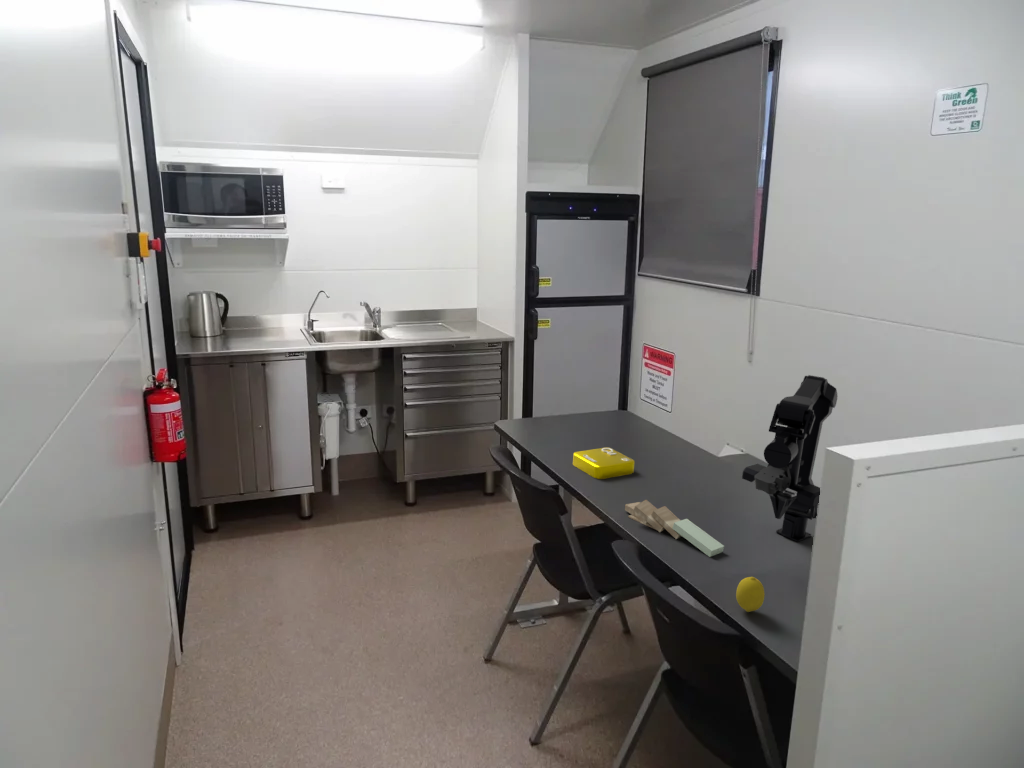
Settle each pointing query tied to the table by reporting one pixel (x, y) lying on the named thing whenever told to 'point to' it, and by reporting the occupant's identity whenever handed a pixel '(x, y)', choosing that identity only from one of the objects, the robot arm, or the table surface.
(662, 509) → the tile
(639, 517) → the tile
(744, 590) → the lemon
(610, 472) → the element tile
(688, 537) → the head tile
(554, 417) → the table surface
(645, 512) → the tile
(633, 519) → the tile
